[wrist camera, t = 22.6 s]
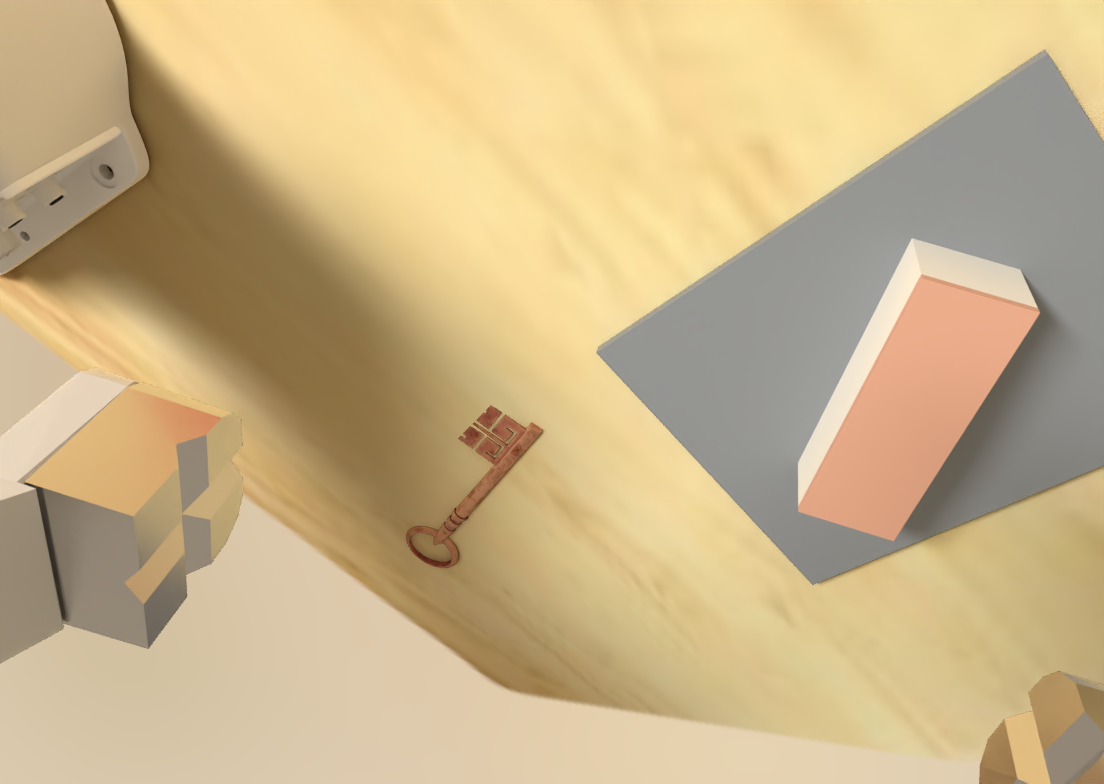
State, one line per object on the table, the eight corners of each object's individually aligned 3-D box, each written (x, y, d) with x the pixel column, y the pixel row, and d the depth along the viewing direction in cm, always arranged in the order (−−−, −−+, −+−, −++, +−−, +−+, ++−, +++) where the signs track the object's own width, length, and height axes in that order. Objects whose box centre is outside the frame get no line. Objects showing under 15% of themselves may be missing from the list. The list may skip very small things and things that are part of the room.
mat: (812, 577, 54) (812, 584, 53) (598, 347, 48) (596, 352, 47) (1258, 392, 41) (1264, 399, 41) (1044, 49, 36) (1047, 53, 35)
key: (486, 383, 52) (378, 522, 61) (481, 392, 51) (372, 530, 60) (566, 442, 53) (447, 571, 61) (561, 451, 52) (442, 580, 60)
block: (893, 541, 45) (1040, 312, 37) (798, 511, 45) (922, 278, 37) (886, 490, 48) (1020, 269, 40) (797, 463, 49) (911, 238, 40)
